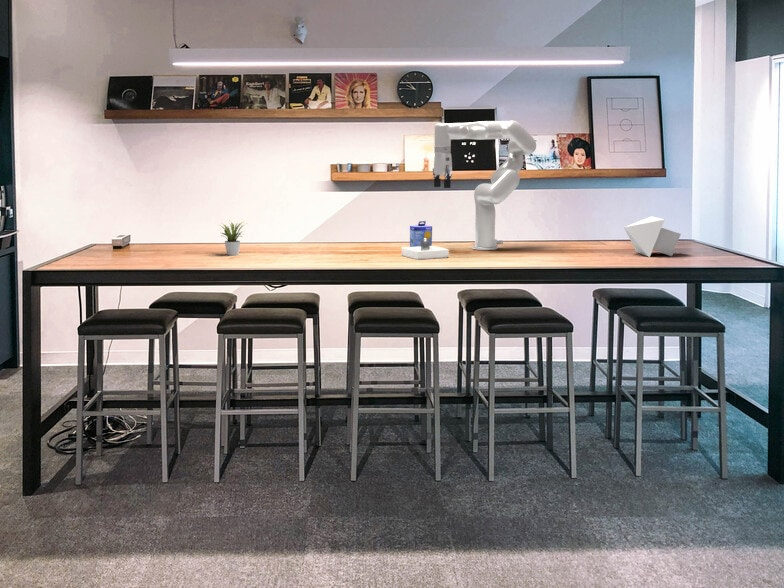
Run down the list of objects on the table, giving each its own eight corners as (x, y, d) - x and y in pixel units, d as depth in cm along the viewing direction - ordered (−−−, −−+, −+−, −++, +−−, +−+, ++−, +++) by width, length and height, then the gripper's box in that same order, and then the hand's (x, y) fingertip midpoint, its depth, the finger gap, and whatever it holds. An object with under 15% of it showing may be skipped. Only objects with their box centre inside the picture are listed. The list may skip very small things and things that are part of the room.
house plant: (254, 252, 379) (253, 218, 376) (246, 256, 365) (245, 220, 362) (225, 252, 380) (224, 217, 377) (216, 256, 367) (214, 220, 364)
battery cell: (427, 254, 368) (427, 237, 366) (431, 255, 364) (431, 238, 363) (419, 254, 366) (419, 238, 365) (423, 255, 362) (423, 239, 361)
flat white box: (432, 253, 376) (432, 245, 375) (448, 257, 361) (448, 249, 361) (401, 255, 369) (401, 247, 368) (417, 259, 355) (417, 251, 354)
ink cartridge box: (414, 252, 380) (414, 221, 377) (408, 251, 385) (409, 220, 382) (432, 251, 384) (432, 220, 381) (427, 249, 389) (427, 220, 386)
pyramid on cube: (611, 243, 377) (625, 207, 375) (658, 259, 380) (672, 223, 377) (622, 248, 361) (637, 209, 358) (671, 264, 363) (686, 227, 360)
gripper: (458, 150, 367) (458, 188, 371) (440, 150, 383) (440, 186, 386) (444, 150, 364) (443, 188, 367) (426, 150, 380) (426, 186, 383)
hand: (442, 187), depth 377 cm, fingers open, 9 cm apart
